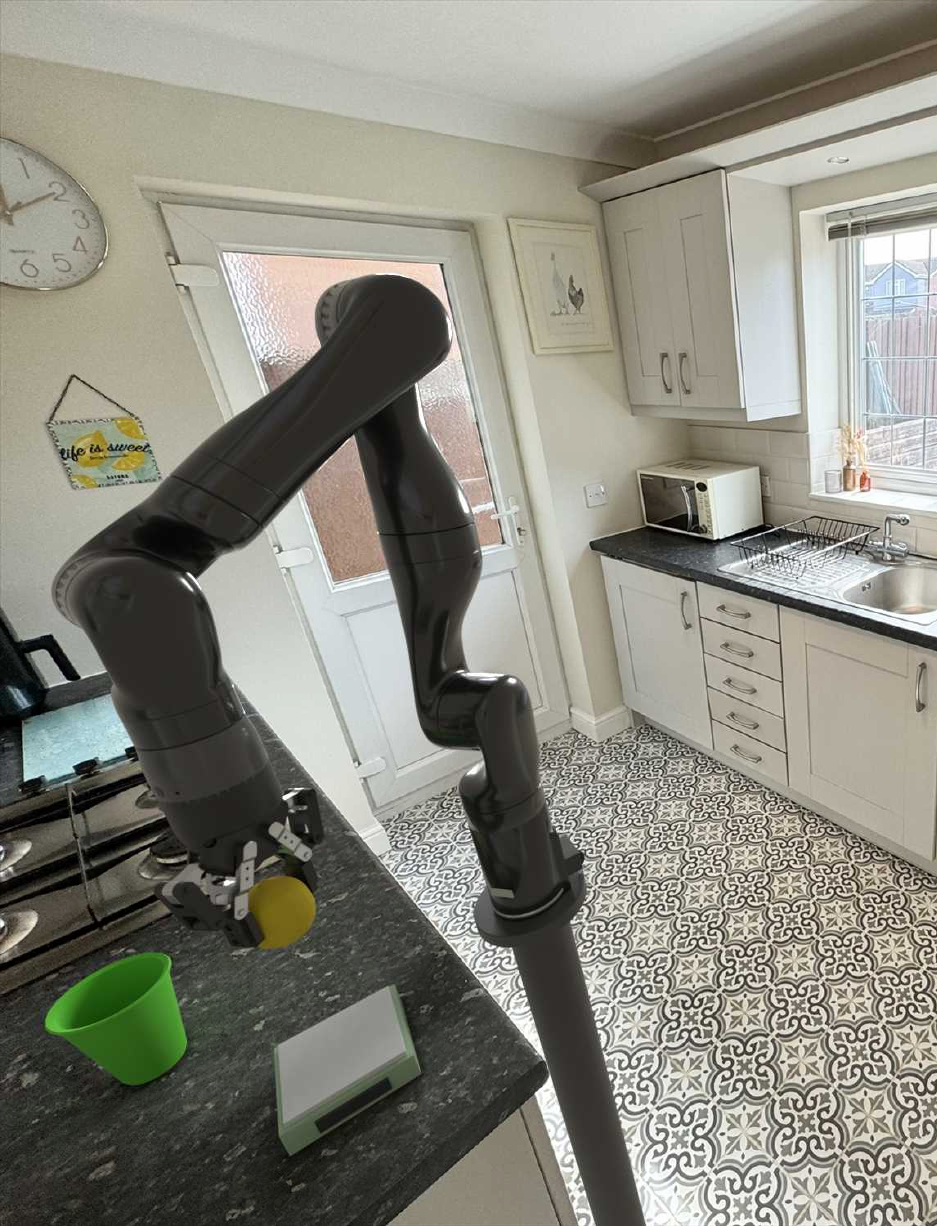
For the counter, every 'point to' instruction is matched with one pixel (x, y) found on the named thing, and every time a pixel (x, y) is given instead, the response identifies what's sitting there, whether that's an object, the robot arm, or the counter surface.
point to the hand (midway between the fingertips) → (280, 916)
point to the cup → (124, 1018)
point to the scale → (342, 1067)
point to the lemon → (281, 910)
